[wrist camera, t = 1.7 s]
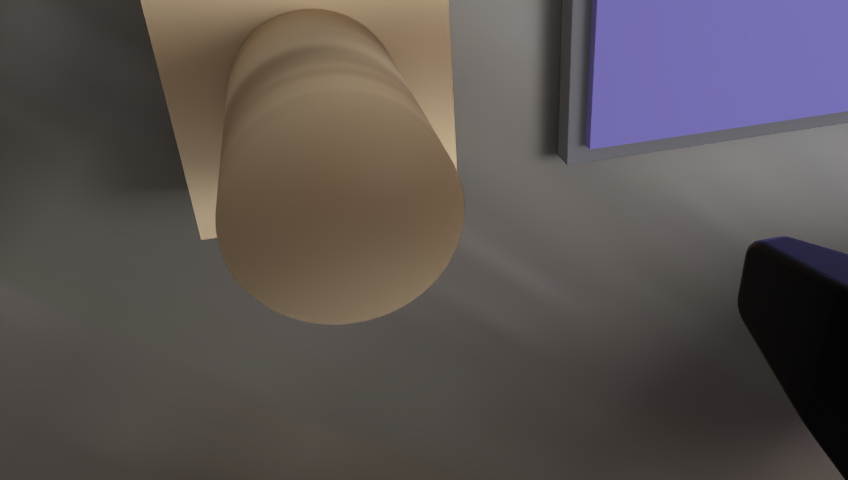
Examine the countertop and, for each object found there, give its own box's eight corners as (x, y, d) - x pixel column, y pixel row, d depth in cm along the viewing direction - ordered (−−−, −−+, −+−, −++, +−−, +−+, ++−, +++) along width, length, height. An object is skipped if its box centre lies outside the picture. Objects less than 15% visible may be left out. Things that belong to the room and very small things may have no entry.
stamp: (433, 154, 20) (539, 348, 13) (207, 187, 19) (180, 415, 12) (417, -86, 17) (545, -14, 10) (148, -60, 16) (62, 41, 9)
